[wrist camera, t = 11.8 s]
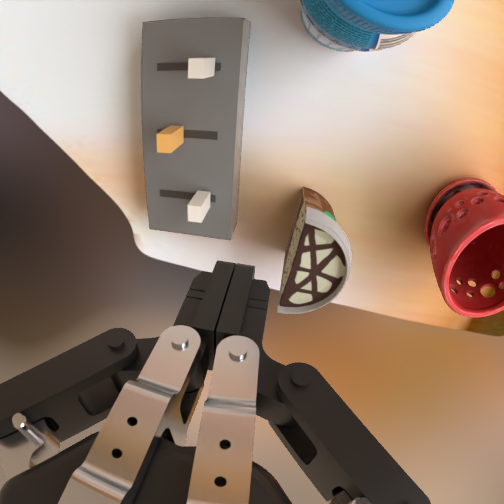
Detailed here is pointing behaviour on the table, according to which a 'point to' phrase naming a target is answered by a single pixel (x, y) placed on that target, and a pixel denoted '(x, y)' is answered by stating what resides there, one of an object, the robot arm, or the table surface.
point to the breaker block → (194, 121)
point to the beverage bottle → (369, 21)
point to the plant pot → (468, 245)
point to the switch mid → (170, 139)
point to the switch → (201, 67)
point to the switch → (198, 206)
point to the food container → (313, 257)
